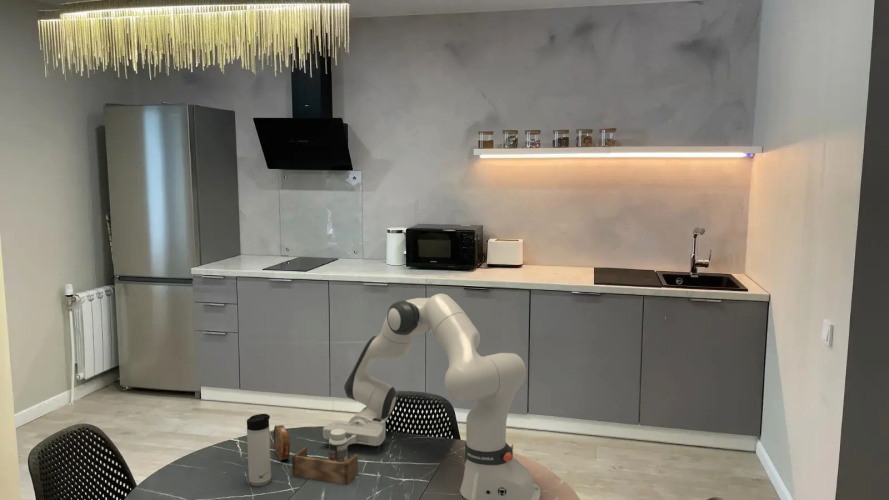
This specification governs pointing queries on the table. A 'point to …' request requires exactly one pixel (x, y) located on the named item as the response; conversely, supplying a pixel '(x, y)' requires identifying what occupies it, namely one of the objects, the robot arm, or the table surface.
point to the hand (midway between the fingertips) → (342, 443)
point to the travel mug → (259, 450)
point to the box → (324, 468)
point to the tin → (281, 442)
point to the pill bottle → (338, 446)
